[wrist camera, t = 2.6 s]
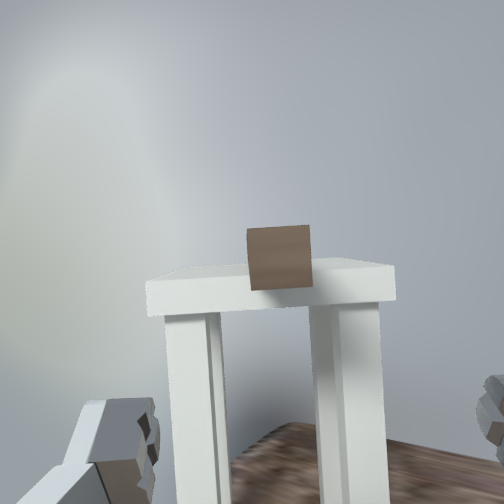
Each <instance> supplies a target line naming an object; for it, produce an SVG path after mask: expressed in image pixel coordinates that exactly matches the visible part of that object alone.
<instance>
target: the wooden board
mask: <svg viewBox="0 0 504 504" xmlns="http://www.w3.org/2000/svg"><path fill="white" fill-rule="evenodd" d="M247 252H248V267H249V276H250V285H251V291H257V290H273V289H288V288H303V287H313V278H312V261H311V245H310V228H309V225H300V226H299V225H298V226H284V227H283V226H282V227H267V228H251V229H247Z"/></svg>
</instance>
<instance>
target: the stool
mask: <svg viewBox="0 0 504 504" xmlns="http://www.w3.org/2000/svg"><path fill="white" fill-rule="evenodd" d="M311 261H312V278H313V287H303V288H288V289H273V290H257V291H251V285H250V276H249V267H248V263H245V264H230V265H215V266H198V267H183V268H180V269H178V270H175V271H172V272H170V273H167V274H165V275H162V276H159V277H157V278H154V279H152V280H149V281H146V282H145V285H146V300H147V314H148V316H162V315H164V317H165V331H166V344H167V360H168V375H169V390H170V402H171V403H170V404H171V419H172V433H173V447H174V463H175V476H176V492H177V504H233V499H232V484H231V469H230V455H229V439H228V423H227V408H226V393H225V377H224V362H223V347H222V332H221V317H220V312H223V311H239V310H253V309H268V308H284V307H299V306H309V323H310V338H311V355H312V372H313V388H314V405H315V419H316V437H317V454H318V470H319V487H320V503H321V504H390V499H389V481H388V464H387V447H386V429H385V412H384V394H383V377H382V360H381V342H380V326H379V309H378V308H379V307H378V301H390V300H396V290H395V272H394V266H392V265H386V264H379V263H373V262H366V261H359V260H352V259H346V258H339V257H338V258H322V259H311Z"/></svg>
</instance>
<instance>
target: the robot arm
mask: <svg viewBox="0 0 504 504" xmlns="http://www.w3.org/2000/svg"><path fill="white" fill-rule="evenodd" d="M483 387H484V388H485V390H486V391H487V393H486V394H484V395H483V396H482V397H481V398H479V400H478V404H477V407H476V412H477V420H478V423H479V426H480V429H481V430H482V432H483V434H484V436H485V438H487V440H489V441H490V442H492V443H493V444H495V445H496V446H497V454H496V456H497V458H498V460H499V461H500V463H501V465H502V466H503V468H504V375H492V376H489V377H488V378H487V379H486V381H485V383H484V386H483ZM154 410H155V405H154V401H153V398H124V399H102V400H88V401H87V402H86V404H85V405H84V406H83V408H82V411H81V414H80V417H79V419H78V423H77V425H76V428H75V430H74V433H73V436H72V439H71V441H70V444H69V447H68V450H67V452H66V455H65V458H64V461H63V464H62V465H57V466H55V467H53V468H52V469H51V470H50V471H49V472H48V473H47V474H46V475H45V476H44V477H43V478H42V479H41V480H40V481H39V482H38V483H37V484H36V485H35V486H34V487H33V488H32V489H31V490H30V491H29V492H28V493H27V494H26V495H24V496H23V497H22V498H21V499H20V500H19V501H18V502H17V503H16V504H151V501H152V495H153V489H154V483H155V475H154V472H153V468H152V467H153V465H154V464H155V463H156V462H157V461H158V457H159V450H160V427H159V422H158V419H157V418H155V417H154Z"/></svg>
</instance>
